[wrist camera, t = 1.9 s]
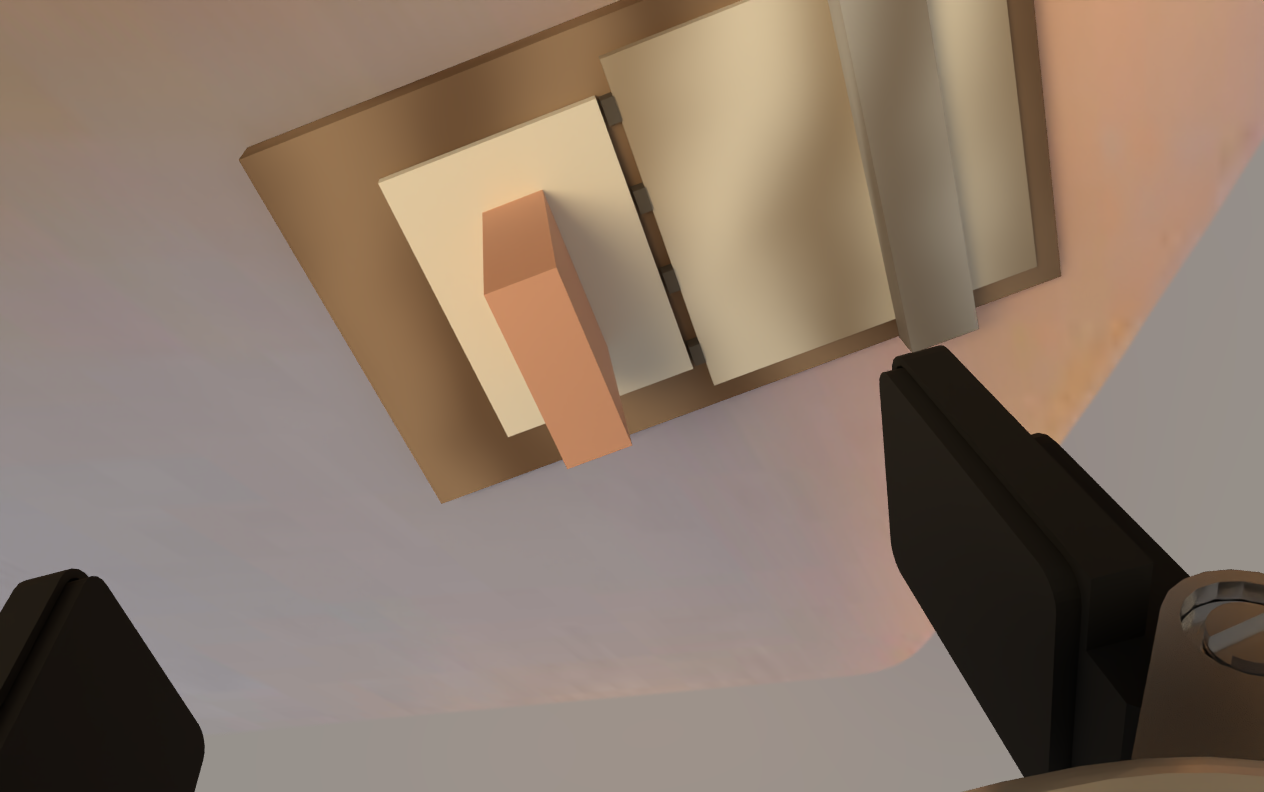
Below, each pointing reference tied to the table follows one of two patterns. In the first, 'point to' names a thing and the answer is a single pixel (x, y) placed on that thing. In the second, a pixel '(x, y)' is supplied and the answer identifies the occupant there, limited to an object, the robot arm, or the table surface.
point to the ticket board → (704, 195)
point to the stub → (544, 275)
